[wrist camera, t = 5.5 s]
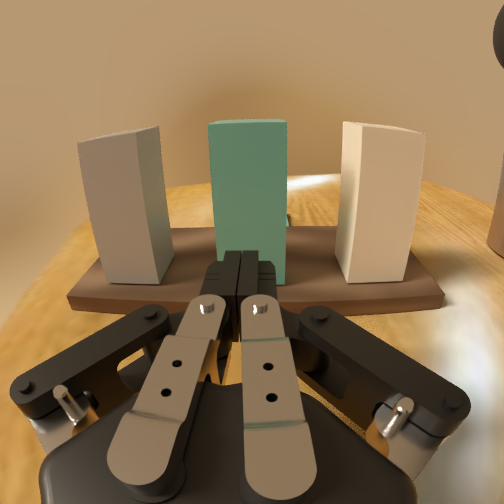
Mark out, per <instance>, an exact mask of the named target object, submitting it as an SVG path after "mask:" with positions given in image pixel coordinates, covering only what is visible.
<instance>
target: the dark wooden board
mask: <svg viewBox="0 0 504 504" xmlns="http://www.w3.org/2000/svg"><path fill="white" fill-rule="evenodd" d="M170 230H171V237H172V243H173V250H174V257H173V259H172V260H171V262H170V264H169V266H168V268H167V270H166V272H165V274H164V276H163V278H162V280H161V282H160V284H131V283H107V281H106V278H105V274H104V271H103V268H102V264H101V260H100V257H99V258H98V259H97V260H96V261H95V263H94V264H93V265H92V266H91V267H90V268H89V269H88V271H87V272H86V273H85V274H84V275H83V276H82V278H81V279H80V280H79V281H78V282H77V284H76V285H75V286H74V287H73V288H72V290H71V291H70V292H69V293H68V294H67V299H68V301H69V304H70V306H71V309H72V310H81V311H92V312H104V313H116V314H130V313H131V312H133V311H135V310H137V309H139V308H140V307H142V306H145V305H149V304H158V305H162V306H164V307H165V308H166V309H167V311H168V314H171V313H177V312H182V311H185V310H187V308H188V305H189V303H190V302H191V301H192V300H193V299H194V298H196V297H198V296H199V294H200V291H201V287H202V284H203V281H204V277H205V275H206V271H207V268H208V266H209V265H210V264H211V263H213V262H214V261H218V260H217V249H216V237H215V227H205V228H170ZM336 235H337V226H286V256H285V284H284V285H277V299H278V303H279V305H280V306H281V307H282V308H284V309H285V310H287V311H290V312H293V313H298V314H300V313H301V312H302V311H303V310H304V309H305V308H307V307H310V306H317V305H318V306H325V307H328V308H331V309H332V310H334V311H336V312H337V313H339V314H340V315H342V316H353V315H370V314H384V313H397V312H408V311H419V310H429V309H439V308H440V307H441V304H442V301H443V298H444V295H445V293H444V292H443V291H442V289H441V288H440V287H439V286H438V284H437V283H436V282H435V280H434V279H433V278H432V277H431V275H430V274H429V273H428V272H427V270H426V269H425V268H424V267H423V265H422V264H421V263H420V262H419V261H418V259H417V258H416V257H415V256H414V255H413V253H412V252H411V251H409V256H408V260H407V265H406V269H405V273H404V277H403V281H389V282H364V283H347V281H346V279H345V277H344V274H343V272H342V270H341V267H340V265H339V263H338V260H337V258H336V256H335V245H336Z"/></svg>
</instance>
